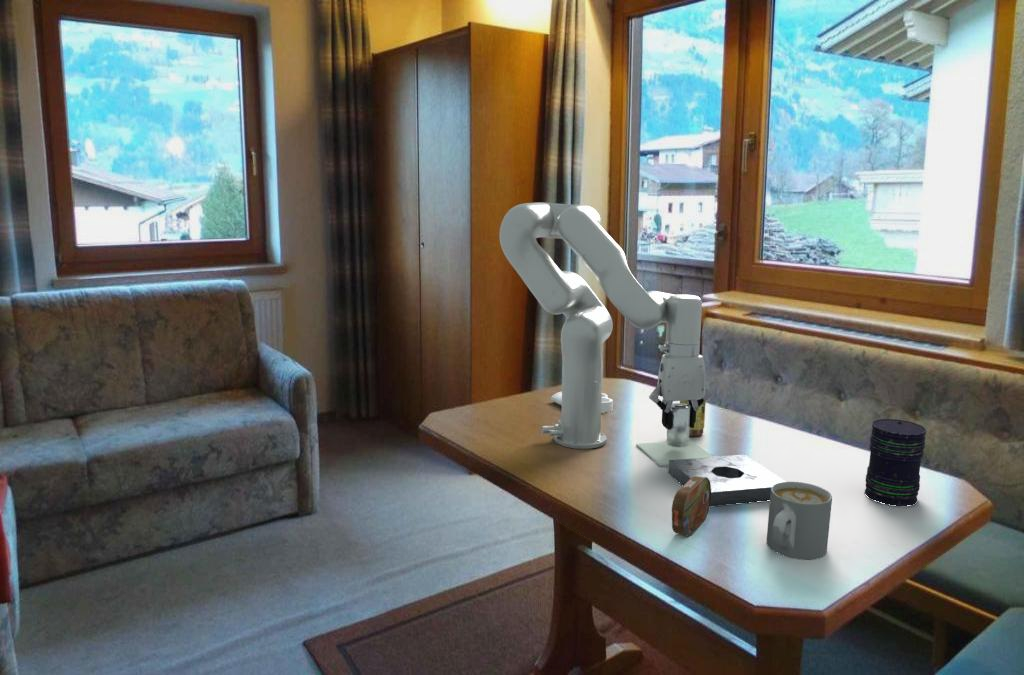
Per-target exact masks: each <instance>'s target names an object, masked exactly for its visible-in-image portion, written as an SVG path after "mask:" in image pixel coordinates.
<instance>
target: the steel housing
mask: <svg viewBox="0 0 1024 675" xmlns="http://www.w3.org/2000/svg"><path fill="white" fill-rule="evenodd" d="M667 474H668V475H669V474H670V475H669V476H671V477H672V478H673V479H674V478H675V479H676V480H677V481H676V480H675V479H674V480H675V481H676V482H677V483H679V482H680V483H681V484H682V485H684V484H685V483H686V482H687V481H688V480H689V479H690V478H692V477H694V476H697V477H707V478H708V479H709V481H710V484H711V502H710V506H714V507H720V506H719V505H724V506H727V505H726V504H735V505H737V504H736V503H746V504H750V503H749V502H757V501H767V500H770V494H771V488H772V486H773V485H775V484H777V483H781V482H786V481H785V480H784V479H782V478H781V477H779V476H778V475H776V474H774V473H773V472H772V471H770V470H769V469H767V468H765V467H764V466H763V465H761V464H759V462H756V461H755V460H753V459H752V458H751V457H749V456H747V455H746V454H734V455H722V456H720V455H719V456H713V457H705V458H691V459H678V460H669V466H668V472H667ZM680 483H679V484H680ZM681 484H680V485H681ZM682 485H681V486H682ZM757 503H758V502H757Z"/></svg>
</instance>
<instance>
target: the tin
mask: <svg viewBox="0 0 1024 675" xmlns="http://www.w3.org/2000/svg"><path fill="white" fill-rule="evenodd" d="M710 502H711V484H710V481H709V479H708V478H707V477H697V476H694V477H692V478H690V479H689V480H688V481H687V482H686V483H685V484H684V485H683V486H682V485H681V487H680V488H679V489H678V490H677V491H676V493H675V495H674V497H673V500H672V505H671V527H672V528H671V529H672V531H673V532H674V533H675V534H677V535H682V536H686V537H691V536H693V534H694V533H695V532H696V531H697V530H698V529H699V527H700V526H701V525H702V524H703V523H704V522H705V520H706V519H707V517H708V514H709V512H710V508H711V507H710Z"/></svg>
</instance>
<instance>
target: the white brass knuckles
mask: <svg viewBox="0 0 1024 675" xmlns="http://www.w3.org/2000/svg"><path fill="white" fill-rule="evenodd" d="M608 396H609V395H608V394H607V393H603V392H602V402H601V414H606V413H605V412H608V413H611V412H612V411H613V405H614V400H613V399H612V398H609V397H608ZM550 400H551V402H553V403H555V404H557V405H559V406H561V407H562V391H559V392H556V393H554V394H553V395H552V396H551V397H550ZM610 411H611V412H610Z"/></svg>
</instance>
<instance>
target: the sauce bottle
mask: <svg viewBox="0 0 1024 675" xmlns="http://www.w3.org/2000/svg"><path fill="white" fill-rule="evenodd" d="M706 385H707V384H705V387H706V388H707V386H706ZM706 400H707V399H706ZM706 400H705V401H704V402H703V404H702V405H701V406H700V407H699V409H698V411H696V422H695V423H694V428H691V427H690V428H689V437H699V436H702V435H703V433H704V428H705V420H706V404H707V403H706V402H707V401H706ZM679 403H683V404H687V405H688V401H679Z"/></svg>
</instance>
